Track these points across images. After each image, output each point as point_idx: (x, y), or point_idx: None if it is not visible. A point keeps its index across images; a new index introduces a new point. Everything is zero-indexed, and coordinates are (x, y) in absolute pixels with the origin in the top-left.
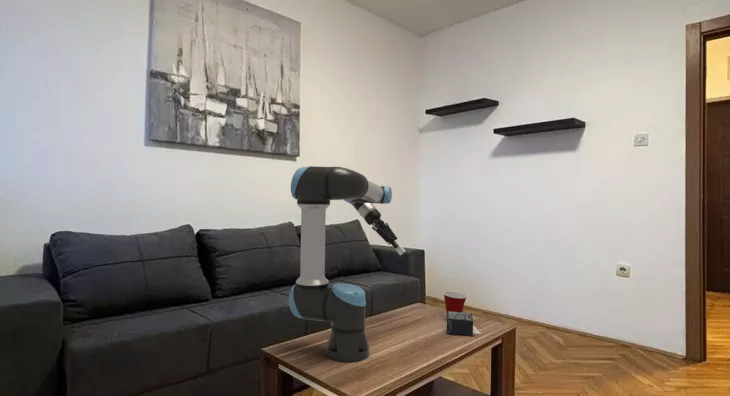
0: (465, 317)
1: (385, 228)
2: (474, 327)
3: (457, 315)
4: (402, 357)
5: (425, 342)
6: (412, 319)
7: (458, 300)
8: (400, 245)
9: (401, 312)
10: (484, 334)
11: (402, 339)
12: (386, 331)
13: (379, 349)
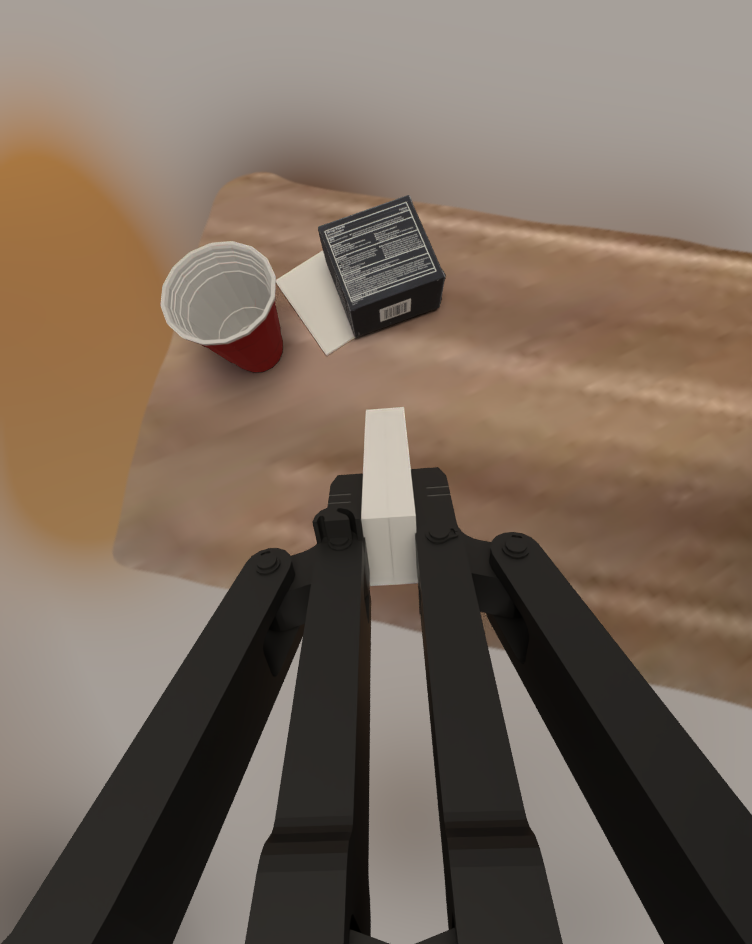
0: (391, 226)
1: (353, 862)
2: (314, 258)
3: (385, 256)
4: (732, 335)
5: (561, 334)
6: None
7: (264, 271)
8: (374, 453)
9: None
10: None
11: (586, 407)
12: (547, 495)
13: (726, 425)
